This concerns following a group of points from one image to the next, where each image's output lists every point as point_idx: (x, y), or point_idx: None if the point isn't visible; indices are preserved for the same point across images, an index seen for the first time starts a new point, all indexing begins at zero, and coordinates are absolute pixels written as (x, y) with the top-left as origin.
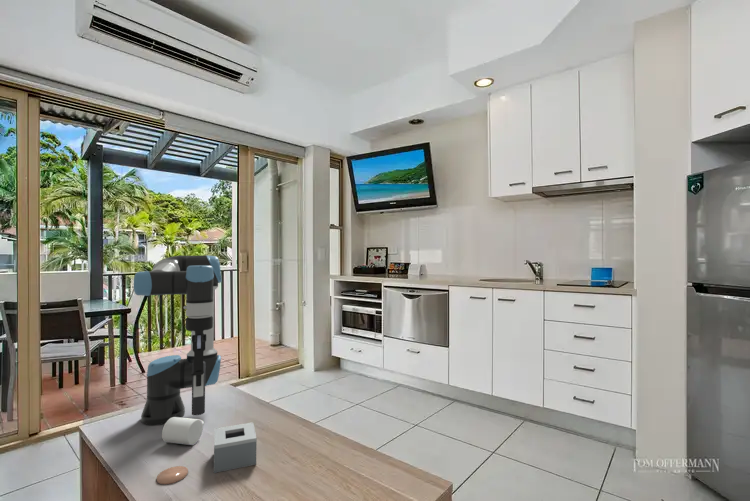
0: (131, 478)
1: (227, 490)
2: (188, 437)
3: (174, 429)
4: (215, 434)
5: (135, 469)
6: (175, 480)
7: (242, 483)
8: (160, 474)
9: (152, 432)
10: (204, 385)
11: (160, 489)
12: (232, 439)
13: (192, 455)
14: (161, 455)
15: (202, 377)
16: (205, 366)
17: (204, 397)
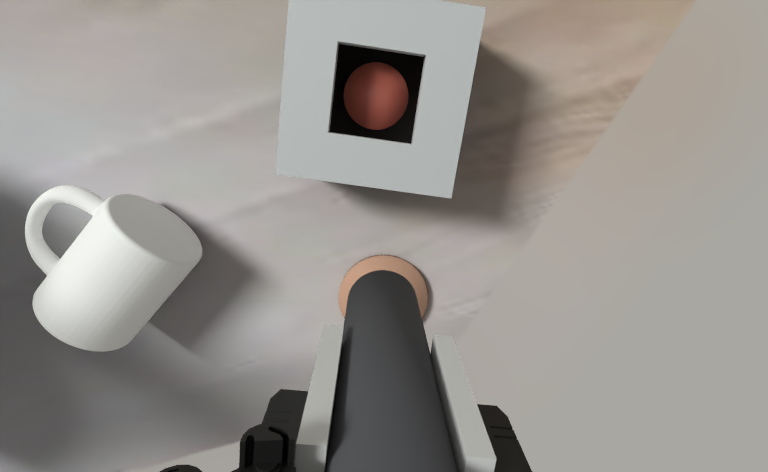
0: None
1: (563, 157)
2: (196, 255)
3: (143, 313)
4: (344, 179)
5: (284, 388)
6: (426, 292)
7: (554, 106)
8: None
9: (10, 349)
10: (415, 360)
11: (441, 327)
12: (437, 117)
13: (273, 233)
14: (223, 323)
15: (487, 442)
16: (265, 444)
17: (405, 312)
